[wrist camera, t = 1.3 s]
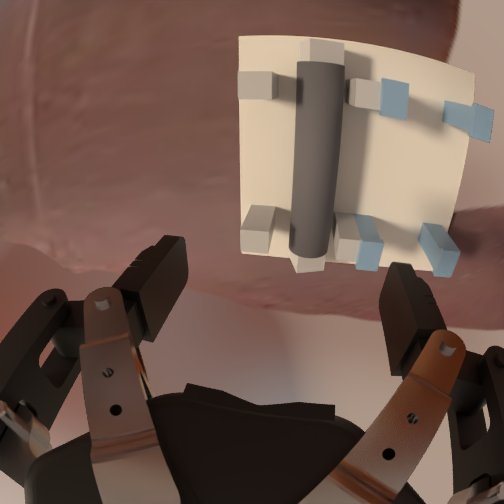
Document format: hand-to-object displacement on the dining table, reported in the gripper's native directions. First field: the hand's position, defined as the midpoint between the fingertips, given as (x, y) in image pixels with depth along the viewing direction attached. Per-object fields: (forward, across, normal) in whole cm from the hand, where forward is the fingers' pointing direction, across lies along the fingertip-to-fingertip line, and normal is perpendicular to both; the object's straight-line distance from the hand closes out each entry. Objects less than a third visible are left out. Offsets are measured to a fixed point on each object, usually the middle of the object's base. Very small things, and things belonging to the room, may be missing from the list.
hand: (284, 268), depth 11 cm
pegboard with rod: (+17, -5, -1) cm, 18 cm away
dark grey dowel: (+16, -1, -1) cm, 16 cm away
